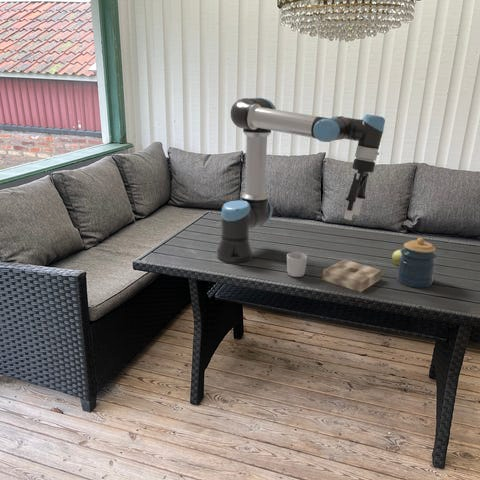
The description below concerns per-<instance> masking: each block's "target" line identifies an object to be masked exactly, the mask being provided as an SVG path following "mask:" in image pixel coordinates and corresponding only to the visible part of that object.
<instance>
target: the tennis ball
mask: <svg viewBox="0 0 480 480" xmlns="http://www.w3.org/2000/svg"><path fill="white" fill-rule="evenodd" d="M401 254H402V253H401V249H397V250H395V251H394V252H393V253H392V255H391V259H392V262H393V264H394V265H396V266H399V261H400V260H399V258H400V257H401Z"/></svg>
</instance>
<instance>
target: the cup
mask: <svg viewBox="0 0 480 480" xmlns="http://www.w3.org/2000/svg"><path fill="white" fill-rule="evenodd" d="M307 262H308V255H307V254H306V253H303V252H295V251H294V252H288V253H287V254H286V271H287V274H288V276H290V277H293V278H300V277H303V276H304V275H305V272H306V267H307Z"/></svg>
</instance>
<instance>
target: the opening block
mask: <svg viewBox="0 0 480 480" xmlns="http://www.w3.org/2000/svg"><path fill="white" fill-rule="evenodd" d="M381 278H382V269H380V268H376V267H375V268H374V267H372V266H369V265H364V264H361V263H358V262H354V261H351V260H348V259H345V258H344V259H343V260H340V261H338V262H336V263H335V264H333V265H331V266H328V267H326V268H324V269H322V280H323V281H326V282H328V283H332V284H334V285H338V286H341V287H344V288H347V289H350V290H353V291H356V292H359V293H362V292H363V291H365V290H367V289H369V288H370V287H371V286H372V285H375V284H376V283H377V282H379V281H381Z"/></svg>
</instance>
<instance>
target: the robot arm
mask: <svg viewBox="0 0 480 480" xmlns="http://www.w3.org/2000/svg"><path fill="white" fill-rule="evenodd" d="M230 119H231V121H232V123H233V124H234V125H235V126H236V127H237V128H240V129H243V130H242V132H243V134H244V135H245V136H246V147H245V149H246V150H245V151H246V152H245V181H244V184H245V185H244V193H243V194H242V195H241V200H240V199H239V200H231V201H227V202H225V203H224V204H223V205H222V207H221V214H220V217H221V219H220V220H221V221H220V222H221V226H220V227H221V228H220V229H221V230H220V231H221V233H220V234H221V236H220V242H219V245H218V247H217V251H216V258H217V259H218V260H220V261H222V262H226V263H232V264H233V263H235V264H237V263H239V264H240V263H245V262H249V261H250V260H252V259H253V251H252V248H251V243H250V237H249V236H250V230H251V229H254V228H257V227H260V226H261V227H262V226H264V224H266V223H267V222H269V221H270V219H271V217H272V216H273V206H272V204H271V201H269V196H268V195H267V194H266V173H267V171H266V170H267V152H268V151H267V149H268V137H269V135H270V134H271V133H272V131H273V132H279V133H284V134H290V135H295V136H299V137H307V138H312V139H316V140H318V141H319V142H324V143H329V142H335V141H339V140H350V141H356V142H357V145H356V149H355V154H354V157H355V158H354V159H353V163H352V169H353V170H357V172H354V174H353V180H352V183H351V185H350V189H349V191H348V194H347V197H346V198H345V201H347V203H346V207H345V212H344V216H343V219H345V220H349V221H352V219H353V216H360V212H361V208H362V204H363V200H366V196H367V195H366V189H367V182H368V177H369V173H373V172H374V169H375V167H376V161H377V157H378V156H379V155H380V152H379V149H380V144H381V142H382V137H383V133H384V129H385V125H386V124H385V122H386V119H385V117H383V116H380V115H375V114H365V115H364V116H363V118H362V119H358V118H354V117H353V118H351V117H345V116H339V115H338V116H337V115H334V116H332V117H331V118H330V117H324V116H317V115H311V114H305V113H299V112H292V111H287V110H282V109H281V110H279V109H277V108H276V106H275V105H274V103H273V102H272V101H271V100H270V99H267V98H262V97H253V98H247V97H244V98H243V97H242V98H241V99H238V100H236V101H234V103H233V104H232V106H231V109H230Z"/></svg>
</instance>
